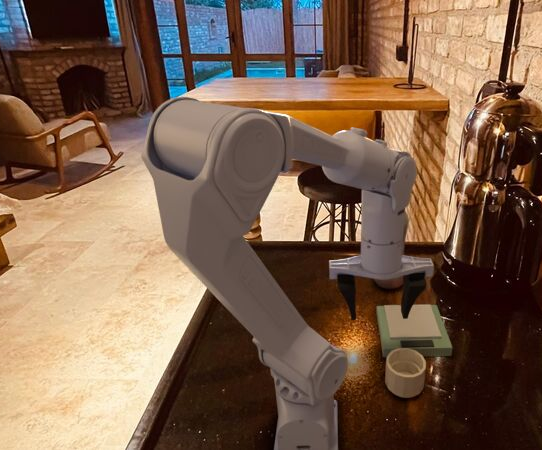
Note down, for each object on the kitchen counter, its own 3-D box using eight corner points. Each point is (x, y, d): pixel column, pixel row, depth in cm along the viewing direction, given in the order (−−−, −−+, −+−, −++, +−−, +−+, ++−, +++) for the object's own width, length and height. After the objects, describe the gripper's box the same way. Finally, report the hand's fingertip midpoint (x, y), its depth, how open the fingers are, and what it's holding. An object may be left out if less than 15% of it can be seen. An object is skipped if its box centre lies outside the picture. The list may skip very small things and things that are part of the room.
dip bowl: (427, 399, 58) (430, 376, 56) (387, 400, 58) (388, 377, 56) (419, 369, 63) (422, 347, 61) (382, 370, 63) (383, 348, 61)
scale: (451, 356, 65) (453, 345, 64) (383, 357, 65) (383, 346, 64) (435, 312, 75) (436, 302, 74) (376, 313, 75) (376, 303, 74)
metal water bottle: (404, 294, 80) (411, 201, 71) (370, 291, 81) (372, 199, 73) (406, 276, 86) (412, 188, 77) (374, 273, 87) (376, 186, 78)
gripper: (428, 221, 59) (421, 297, 65) (328, 223, 59) (330, 300, 65) (441, 244, 52) (431, 327, 58) (328, 247, 52) (330, 330, 58)
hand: (378, 315), depth 61 cm, fingers open, 7 cm apart
